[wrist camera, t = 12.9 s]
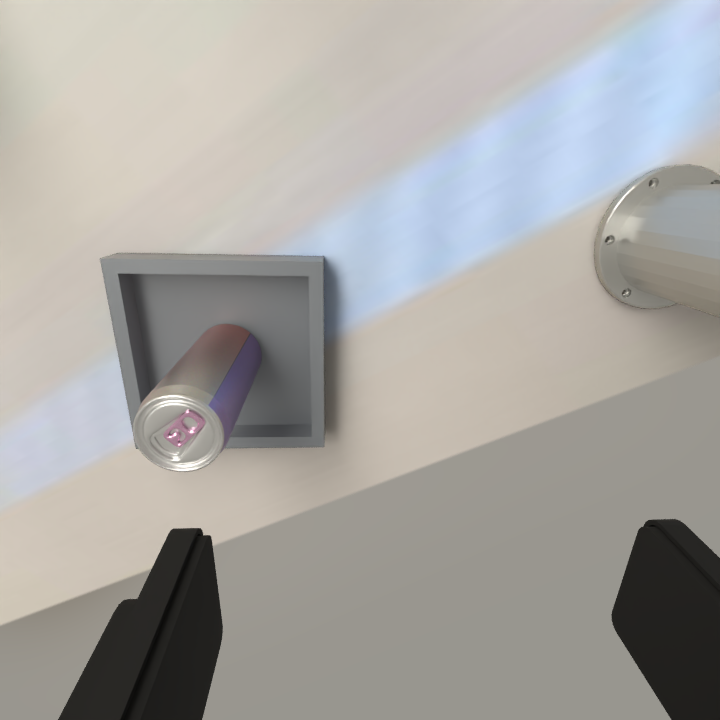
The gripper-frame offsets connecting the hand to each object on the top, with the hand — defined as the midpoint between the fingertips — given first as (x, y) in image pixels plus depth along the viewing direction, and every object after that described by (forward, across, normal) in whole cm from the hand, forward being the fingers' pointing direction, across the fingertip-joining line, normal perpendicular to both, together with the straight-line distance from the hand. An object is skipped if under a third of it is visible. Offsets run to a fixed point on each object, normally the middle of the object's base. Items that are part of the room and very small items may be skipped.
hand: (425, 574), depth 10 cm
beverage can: (+33, +12, +7) cm, 35 cm away
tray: (+33, +12, +7) cm, 36 cm away
